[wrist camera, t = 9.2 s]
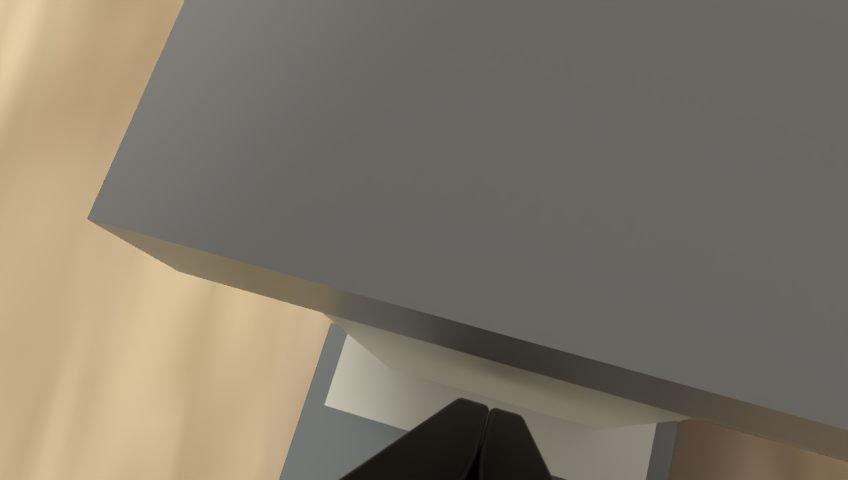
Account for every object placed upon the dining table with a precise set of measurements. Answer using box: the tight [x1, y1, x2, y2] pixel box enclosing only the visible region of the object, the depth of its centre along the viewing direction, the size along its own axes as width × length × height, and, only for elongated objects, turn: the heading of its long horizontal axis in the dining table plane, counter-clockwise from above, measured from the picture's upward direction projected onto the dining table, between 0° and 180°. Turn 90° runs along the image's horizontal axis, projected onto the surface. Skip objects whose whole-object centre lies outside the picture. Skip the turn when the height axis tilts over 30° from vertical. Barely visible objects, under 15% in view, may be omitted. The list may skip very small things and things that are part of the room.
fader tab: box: [87, 0, 848, 480], centre depth 9 cm, size 5×6×12 cm
